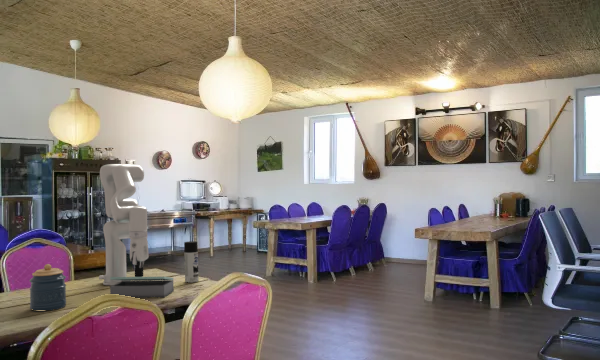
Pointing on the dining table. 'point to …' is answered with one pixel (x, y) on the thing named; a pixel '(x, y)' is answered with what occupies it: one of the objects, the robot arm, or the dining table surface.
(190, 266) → the spray can
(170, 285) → the gray rectangular tray
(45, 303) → the canister
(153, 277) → the cover
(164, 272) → the dining table surface
